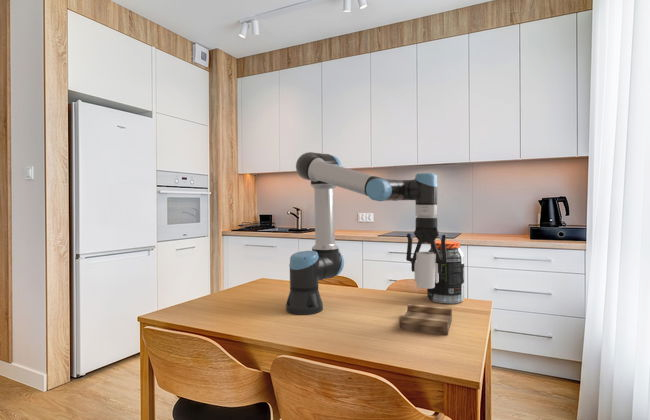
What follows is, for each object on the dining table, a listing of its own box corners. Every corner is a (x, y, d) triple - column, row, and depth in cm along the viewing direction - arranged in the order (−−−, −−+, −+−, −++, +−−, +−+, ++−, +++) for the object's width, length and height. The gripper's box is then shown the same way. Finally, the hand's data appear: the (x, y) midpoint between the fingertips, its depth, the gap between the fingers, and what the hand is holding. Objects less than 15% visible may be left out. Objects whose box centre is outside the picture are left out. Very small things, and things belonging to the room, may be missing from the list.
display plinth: (399, 329, 131) (399, 316, 131) (408, 315, 147) (408, 303, 147) (447, 335, 125) (447, 322, 125) (451, 320, 141) (451, 308, 141)
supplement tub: (471, 300, 167) (471, 242, 166) (448, 306, 158) (448, 244, 157) (442, 293, 180) (442, 239, 179) (419, 298, 171) (419, 241, 170)
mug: (430, 290, 129) (431, 254, 129) (412, 287, 134) (413, 253, 133) (442, 284, 137) (442, 251, 137) (424, 282, 141) (425, 250, 141)
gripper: (396, 217, 135) (397, 281, 136) (454, 217, 128) (454, 285, 128) (401, 216, 142) (401, 277, 143) (456, 216, 134) (456, 281, 135)
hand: (426, 281), depth 136 cm, fingers closed on mug, 6 cm apart
